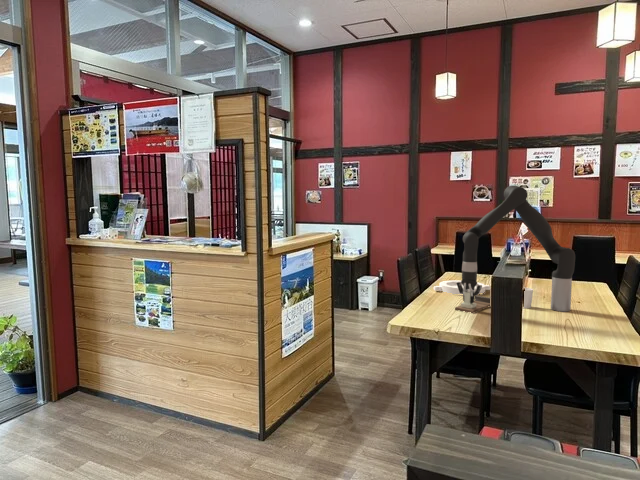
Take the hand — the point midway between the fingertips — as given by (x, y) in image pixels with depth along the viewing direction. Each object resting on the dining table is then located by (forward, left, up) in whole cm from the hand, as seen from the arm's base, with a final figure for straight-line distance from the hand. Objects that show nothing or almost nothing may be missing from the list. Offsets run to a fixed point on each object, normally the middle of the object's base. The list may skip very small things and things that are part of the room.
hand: (468, 302), depth 235 cm
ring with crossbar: (-43, -27, -5) cm, 51 cm away
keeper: (0, 0, -3) cm, 3 cm away
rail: (-7, 0, -4) cm, 8 cm away
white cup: (-28, +18, -4) cm, 33 cm away
